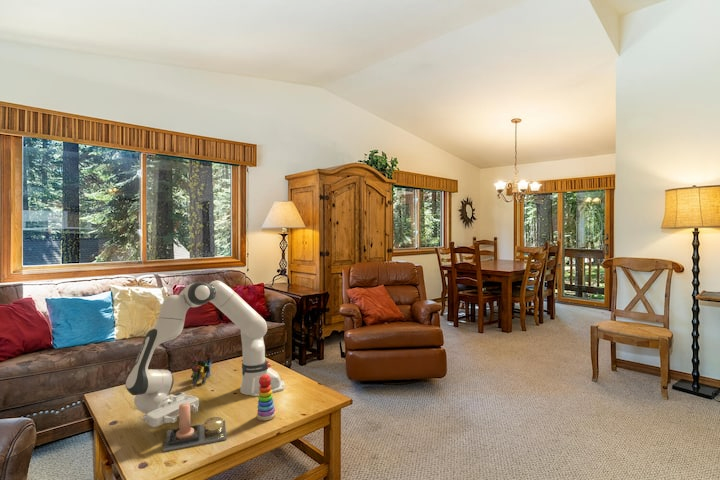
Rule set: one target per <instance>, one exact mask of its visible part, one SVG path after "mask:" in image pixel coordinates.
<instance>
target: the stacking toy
mask: <svg viewBox="0 0 720 480" xmlns="http://www.w3.org/2000/svg"><path fill="white" fill-rule="evenodd" d="M270 382H271V378H270V376H269V375H262V376H261V377H260V379H259V384H260V385H261V386H260V388H259V390H260V392H259V396H257V398H258V401H257V404H258V405H257V413H256V418H257V420H259V421H270V420H272V419H274V418H275V416H276V407H275V403H274V398H273V393H272V390H271V386H270V385H269V384H270Z"/></svg>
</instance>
